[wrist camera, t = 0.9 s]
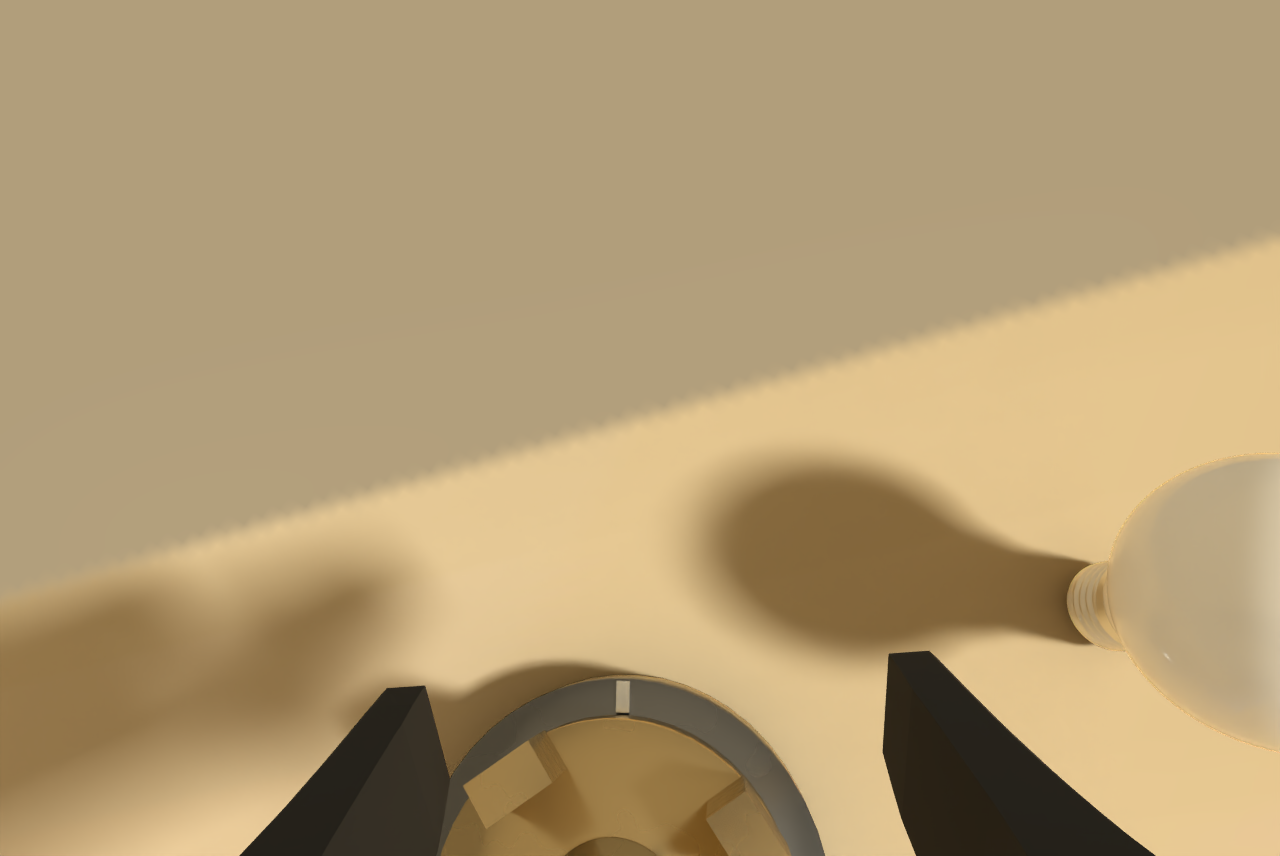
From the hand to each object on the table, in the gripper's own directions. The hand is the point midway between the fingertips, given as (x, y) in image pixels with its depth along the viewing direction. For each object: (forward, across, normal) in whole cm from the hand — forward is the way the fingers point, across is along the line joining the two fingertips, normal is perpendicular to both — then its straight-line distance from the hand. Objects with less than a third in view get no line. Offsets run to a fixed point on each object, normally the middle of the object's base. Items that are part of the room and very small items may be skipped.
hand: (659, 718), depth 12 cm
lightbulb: (+11, -14, +7) cm, 19 cm away
